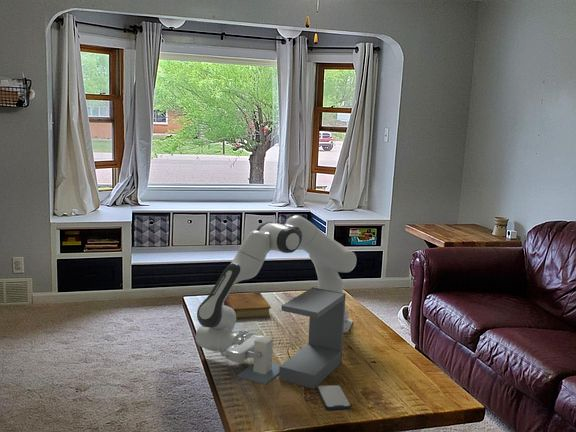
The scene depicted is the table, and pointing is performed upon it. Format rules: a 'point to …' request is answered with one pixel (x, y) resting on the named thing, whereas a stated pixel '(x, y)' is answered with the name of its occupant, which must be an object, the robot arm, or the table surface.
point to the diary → (248, 305)
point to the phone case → (333, 398)
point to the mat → (259, 377)
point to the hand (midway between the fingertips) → (265, 352)
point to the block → (263, 355)
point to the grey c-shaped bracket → (316, 337)
